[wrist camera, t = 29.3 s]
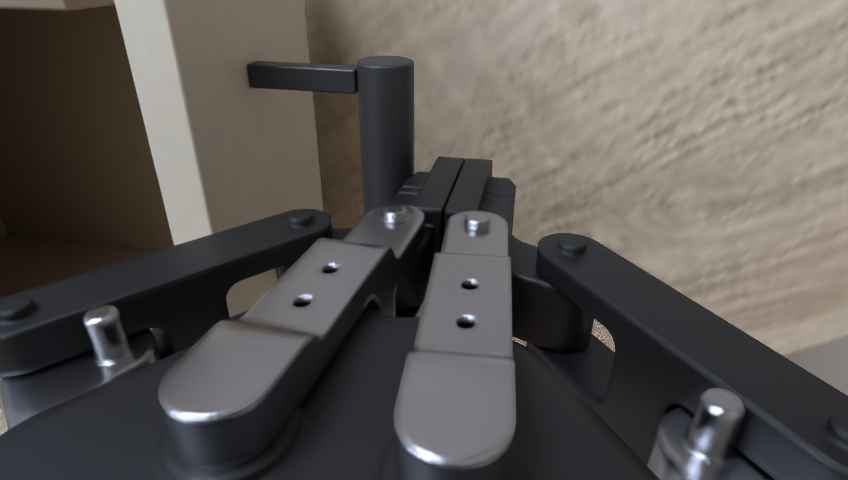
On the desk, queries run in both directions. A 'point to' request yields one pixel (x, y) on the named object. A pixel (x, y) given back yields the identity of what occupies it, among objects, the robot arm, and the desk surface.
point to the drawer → (171, 129)
